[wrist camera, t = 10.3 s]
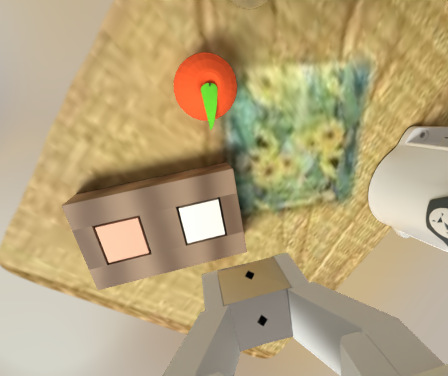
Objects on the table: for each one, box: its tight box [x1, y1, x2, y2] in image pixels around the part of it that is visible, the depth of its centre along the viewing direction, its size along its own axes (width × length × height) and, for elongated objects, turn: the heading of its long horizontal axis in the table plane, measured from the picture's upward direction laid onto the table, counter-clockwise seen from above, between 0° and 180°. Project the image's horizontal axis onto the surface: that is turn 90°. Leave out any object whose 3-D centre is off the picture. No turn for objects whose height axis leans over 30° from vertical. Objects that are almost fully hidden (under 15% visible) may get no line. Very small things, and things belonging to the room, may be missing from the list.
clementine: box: [174, 52, 237, 130], centre depth 27 cm, size 8×7×7 cm
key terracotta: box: [95, 215, 150, 263], centre depth 31 cm, size 5×5×3 cm
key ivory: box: [179, 198, 225, 243], centre depth 32 cm, size 5×5×3 cm
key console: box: [62, 162, 247, 290], centre depth 32 cm, size 20×12×4 cm, turn 101°
